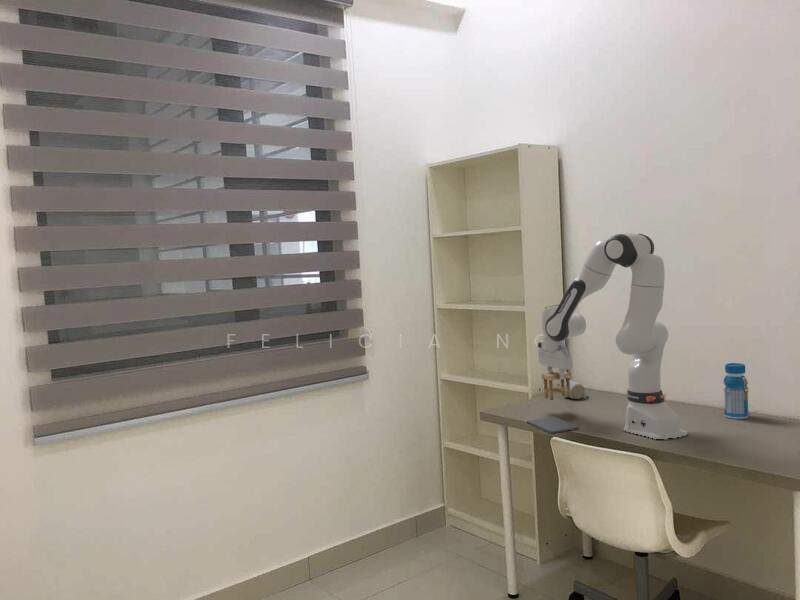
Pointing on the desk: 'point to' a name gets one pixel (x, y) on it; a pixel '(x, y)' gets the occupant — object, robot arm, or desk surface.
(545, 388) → the oak stool
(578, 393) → the ceramic mug
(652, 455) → the desk surface
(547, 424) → the charcoal mat
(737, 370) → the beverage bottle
